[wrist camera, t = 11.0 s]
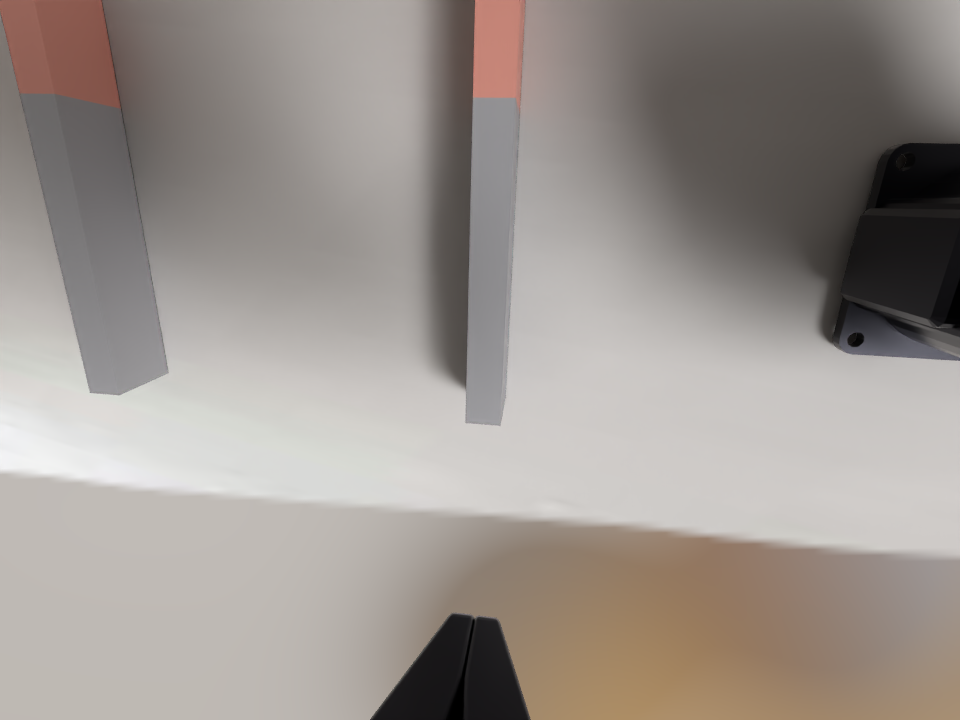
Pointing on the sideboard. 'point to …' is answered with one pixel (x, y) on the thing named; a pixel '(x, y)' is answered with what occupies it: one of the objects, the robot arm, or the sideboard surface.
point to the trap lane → (115, 213)
